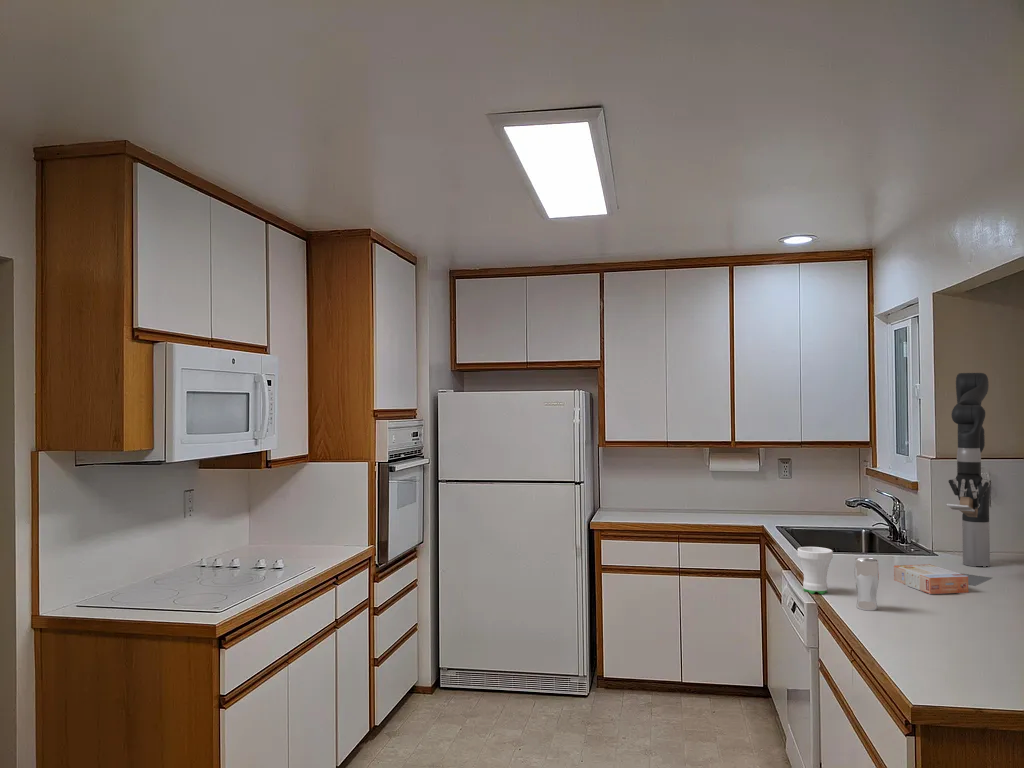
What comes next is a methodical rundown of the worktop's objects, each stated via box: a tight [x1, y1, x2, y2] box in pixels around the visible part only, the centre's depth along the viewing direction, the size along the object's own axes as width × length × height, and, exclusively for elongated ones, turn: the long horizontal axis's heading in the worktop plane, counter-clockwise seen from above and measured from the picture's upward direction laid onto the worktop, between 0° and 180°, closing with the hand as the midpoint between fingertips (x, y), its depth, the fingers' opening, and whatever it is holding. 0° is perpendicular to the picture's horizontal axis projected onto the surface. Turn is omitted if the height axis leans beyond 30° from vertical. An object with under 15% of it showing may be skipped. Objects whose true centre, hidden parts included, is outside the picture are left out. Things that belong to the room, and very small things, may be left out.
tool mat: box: [959, 572, 992, 587], centre depth 289 cm, size 19×11×1 cm, turn 134°
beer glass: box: [854, 557, 880, 612], centre depth 250 cm, size 7×7×15 cm
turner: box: [946, 497, 978, 517], centre depth 289 cm, size 17×7×5 cm, turn 134°
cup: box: [797, 546, 834, 595], centre depth 271 cm, size 11×11×14 cm
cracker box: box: [893, 563, 970, 595], centre depth 278 cm, size 14×6×21 cm
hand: (969, 508), depth 292 cm, fingers closed on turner, 3 cm apart
